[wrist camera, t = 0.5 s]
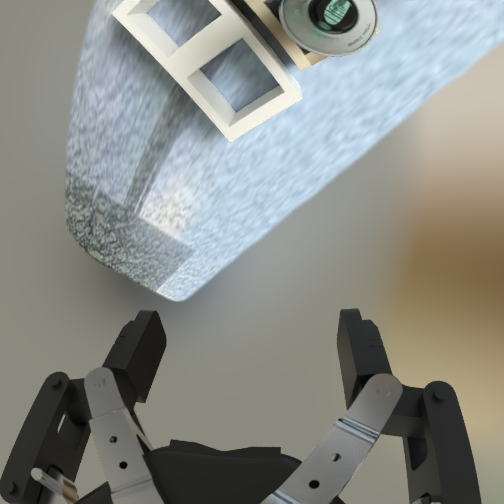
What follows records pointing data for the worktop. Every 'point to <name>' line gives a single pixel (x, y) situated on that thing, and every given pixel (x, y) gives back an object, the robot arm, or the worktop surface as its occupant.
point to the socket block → (285, 35)
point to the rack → (205, 49)
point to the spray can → (330, 24)
